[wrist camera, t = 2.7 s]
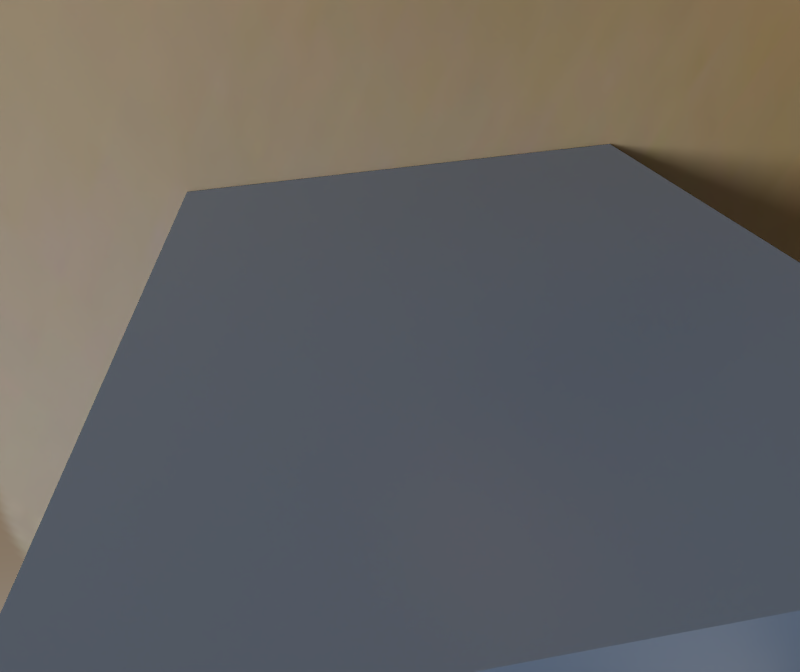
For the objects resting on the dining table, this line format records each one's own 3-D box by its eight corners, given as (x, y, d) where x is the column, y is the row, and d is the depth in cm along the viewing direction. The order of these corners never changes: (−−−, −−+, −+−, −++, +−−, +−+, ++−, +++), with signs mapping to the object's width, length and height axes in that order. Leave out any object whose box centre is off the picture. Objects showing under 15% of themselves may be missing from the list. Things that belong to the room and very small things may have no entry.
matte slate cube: (570, 445, 15) (821, 900, 8) (270, 493, 15) (245, 1035, 7) (609, 143, 11) (1226, 529, 4) (187, 192, 10) (-73, 775, 3)
